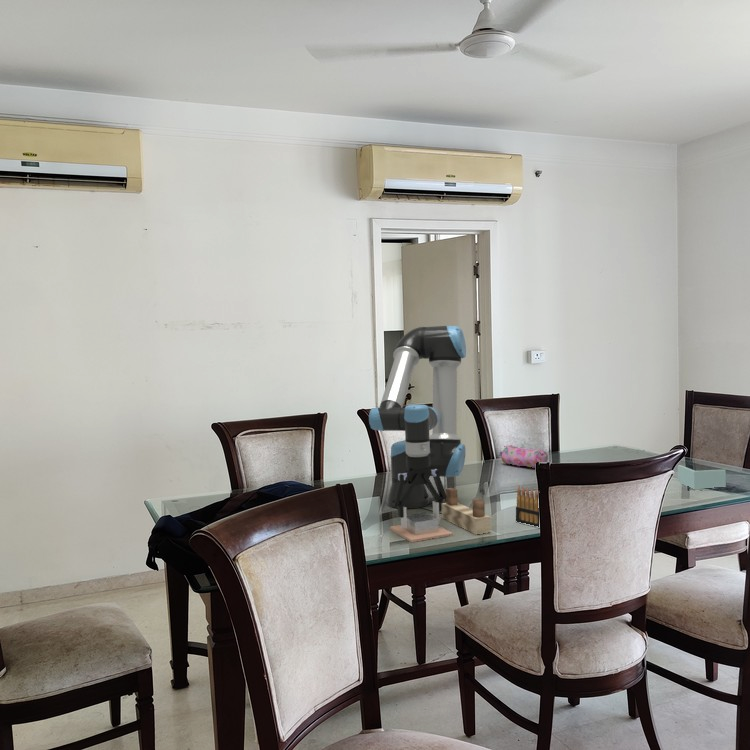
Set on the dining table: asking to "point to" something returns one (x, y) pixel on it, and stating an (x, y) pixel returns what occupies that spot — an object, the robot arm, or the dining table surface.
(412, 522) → the brushed metal block
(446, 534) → the mat
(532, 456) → the pencil case
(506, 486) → the dining table surface
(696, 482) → the l-shaped corner panel
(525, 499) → the ammunition clip
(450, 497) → the wooden peg stand
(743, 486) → the dining table surface
